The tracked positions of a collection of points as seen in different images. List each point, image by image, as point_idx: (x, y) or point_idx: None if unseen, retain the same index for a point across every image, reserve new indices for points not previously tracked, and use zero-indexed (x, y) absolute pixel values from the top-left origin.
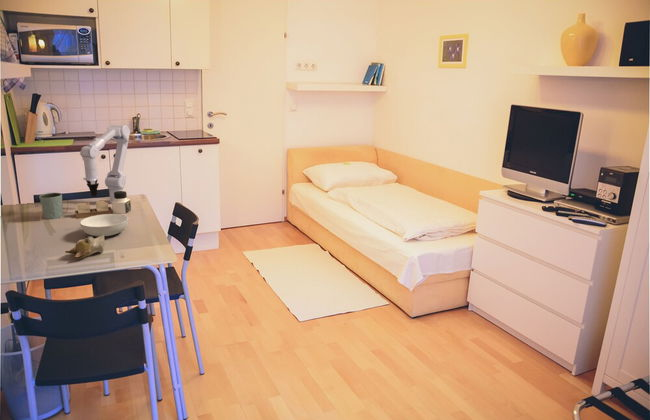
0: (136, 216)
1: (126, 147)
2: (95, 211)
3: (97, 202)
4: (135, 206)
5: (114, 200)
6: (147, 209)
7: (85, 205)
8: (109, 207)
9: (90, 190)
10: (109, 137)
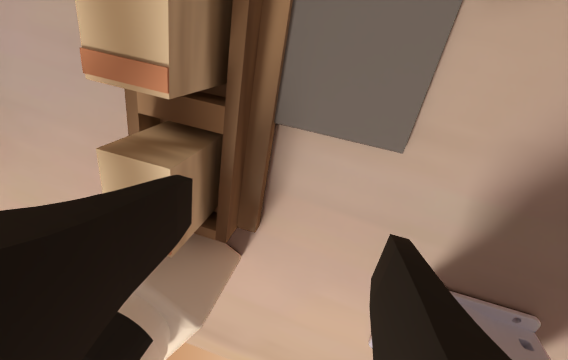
0: None
1: None
2: (144, 113)
3: (135, 172)
4: (295, 349)
5: (149, 293)
6: (209, 350)
7: (87, 32)
8: (215, 231)
9: (67, 205)
10: None
